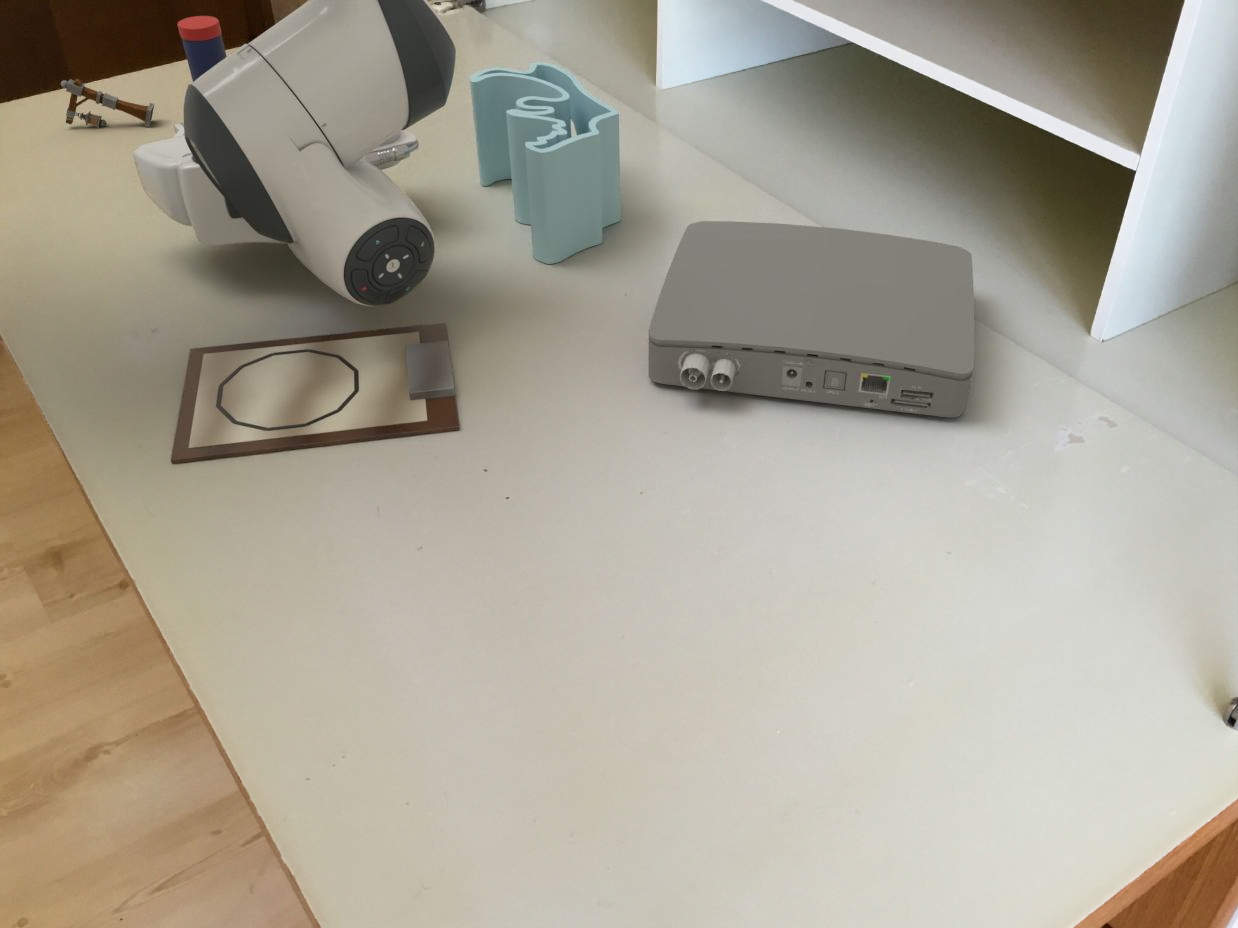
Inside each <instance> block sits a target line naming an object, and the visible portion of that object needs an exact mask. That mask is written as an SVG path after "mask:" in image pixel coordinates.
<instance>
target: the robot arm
mask: <svg viewBox="0 0 1238 928" xmlns="http://www.w3.org/2000/svg"><path fill="white" fill-rule="evenodd" d="M456 53H457V49H456V46H455V44H454V41H453V39H452V38H451V36H450V34H449V31H448V29H447V27H446V24H445V23H444V21H443V20H442V17H440V15H439V14H438V12H437V11H436V10H435V8H434V7H433V6H432V5H431V3H430V2H429V1H428V0H307V1H305V2H304V3H303V4H302V5H300V6H299V7H297V8H296V9H295V10H294V11H292V12H291V13H289V14H288V15H286V16H285V17H283V18H282V19H281V20H279V21H278V22H277V23H275V24H274V25H272V26H271V27H269V28H268V29H267V30H265V31H264V32H263V33H261V34H260V35H258V36H257V37H255V38H254V39H252V40H251V41H250V42H248V43H244V44H243V45H242V46H240V47H238V48H237V49H235V50H234V51H233V52H232V53H230V54H229V55H226V56H227V57H226V58H224V59H223V60H222V61H220V62H219V63H218V64H216V65H215V66H214V67H212V68H211V69H209V70H208V71H207V72H205V73H204V74H203V75H201V76H200V77H199V78H198V79H196V80H195V81H194V82H193V81H192V83H191V84H187V88H186V91H185V96H184V102H183V122H180V123H176V124H175V123H174V124H173V129H174V132H175V133H174V135H173V137H169V138H165V139H160V140H156V141H151V142H145V143H142V144H140V145H139V146H137V148H136V149H134V151H133V153H132V156H133V161H134V165H135V169H136V172H137V176H138V178H139V181H140V184H141V187H142V189H143V191H144V193H145V195H146V196H147V197H148V199H149V200H150V201H151V202H152V203H153V204H154V205H155V206H156V207H157V209H159V210H160V211H161V212H162V213H164V215H166V216H167V217H168V218H169V219H171V220H172V221H174V222H176V223H178V224H181V225H184V226H187V227H191V228H192V230H193V232H194V234H195V236H196V239H197V241H199V243H200V244H201V245H204V246H209V247H213V246H214V247H215V246H227V245H234V244H235V245H236V244H246V243H247V244H249V243H268V244H280V245H281V244H282V245H283V244H286V245H288V247H289V249H290V250H291V251H292V253H293V255H294V256H295V257H296V258H297V259H298V260H299V261H300V262H301V264H303V266H304V267H305V268H307V269H308V270H309V272H311V273H312V274H313V275H314V276H315V277H316V278H317V279H318V280H319V281H320V282H322V283H323V284H324V285H326V287H328V288H330V289H331V290H332V291H335V293H337V294H338V295H339V296H342V297H343V298H345V299H346V300H348V301H350V302H352V303H354V304H356V305H359V306H364V307H383V306H388V305H391V304H394V303H396V302H398V301H399V300H400V299H402V298H404V297H405V296H407V295H408V294H410V293H411V292H412V291H413V290H415V288H416V287H418V286H419V285H420V284H421V283H422V281H423V280H424V279H425V278H426V276H428V273H429V271H430V269H431V267H432V265H433V262H434V258H435V253H436V239H435V234H434V233H433V230H432V228H431V226H430V224H429V222H428V221H427V219H426V217H425V216H424V215H423V213H422V212H421V211H420V210H419V208H418V207H417V205H416V204H415V203H414V201H413V200H412V199H411V198H410V197H409V196H408V194H407V193H406V192H405V191H404V190H403V189H402V188H401V187H400V186H399V185H398V184H397V183H396V182H395V181H394V179H392V178H391V177H390V176H389V175H388V174H386V172H384V171H383V170H387V169H390V168H392V167H395V166H397V165H398V164H400V163H401V161H404V160H405V159H407V158H410V156H411V153H412V152H415V151H417V150H418V149H419V146H420V142H419V140H418V137H417V136H416V135H415V134H414V133H412V132H410V131H409V130H407V129H409V128H410V127H411V126H413V125H415V124H417V123H418V122H420V121H422V120H423V119H425V118H427V117H428V116H430V115H432V114H433V113H435V112H436V111H438V110H440V109H441V108H443V107H445V106H446V104H447V100H448V98H449V95H450V91H451V87H452V84H453V79H454V74H455V68H456V67H455V65H456V58H457V57H456V56H457V55H456Z"/></svg>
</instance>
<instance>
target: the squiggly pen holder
mask: <svg viewBox="0 0 1238 928" xmlns="http://www.w3.org/2000/svg"><path fill="white" fill-rule="evenodd" d="M469 87H470V97H471V106H472V116H473V122H474V123H473V125H474V135H475V145H476V153H477V155H476V156H477V164H478V174H479V183H480V186H481V187H488V186H491V185H492V184H494V183H495V182H500V181H503V180H511V187H512V199H513V211H514V220H515V221H516V222H518V223H520V224H523V225H529V226H530V227H531V228H530V232H531V244H532V255H533V258H534V259H535V260H537V261H539V262H540V263H543V264H547V265H553V264H556V263H557V264H558V263H560V262H562V261H563V260H566V259H568V258H569V257H571V256H573V255H575V254H577V253H578V252H581V251H584V250H586V249H589V248H591V247H594V246H598V245H601V244H603V228H606V227H608V226H611V225H614V224H617V223H619V222H621V220H622V216H621V215H622V213H621V211H622V209H621V163H620V162H621V161H620V159H621V157H620V156H621V155H620V154H621V152H620V112H619V110H617V109H616V108H614V107H612V106H611V105H609V104H607V103H606V102H603V101H602V100H600V99H599V98H598V97H595V96H594V95H593V94H592V93H590V92H589V91H587V89H586V88H585V87H584V86H583V85H582V84H581V82H580V81H579V79H578V77H576V76H575V75H574V74H573V73H571V72H570V71H568V70H566V69H564V68H563V67H560V66H558V65H555V64H552V63H549V62H543V61H542V62H541V61H536V62H531V63H530V65H529V67H528V69H527V70H519V69H518V70H517V69H513V68H507V67H502V66H501V67H499V66H496V67H495V66H494V67H488V68H483V69H480V70H478V71H476V72H475V73H473V74H471V76H469ZM571 122H572V123H573V127H574V130H575V133H576V135H574V136H572V123H571Z"/></svg>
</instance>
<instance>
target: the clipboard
mask: <svg viewBox="0 0 1238 928" xmlns="http://www.w3.org/2000/svg"><path fill="white" fill-rule="evenodd" d="M451 360H452V359H451V352H450V345H449V337H448V329H447V323H446V322H440V323H439V322H438V323H429V324H428V323H427V324H419V325H410V326H400V327H390V328H388V327H387V328H382V329H381V328H379V329H370V330H369V329H368V330H361V331H360V330H359V331H350V332H341V333H331V334H321V335H311V336H300V337H291V338H290V337H289V338H282V339H281V338H280V339H271V340H263V341H261V340H260V341H253V342H252V341H251V342H242V343H231V344H223V345H213V346H212V345H211V346H204V347H203V346H202V347H193V348H190V349H189V355H188V359H187V365H186V372H185V378H184V382H183V389H182V394H181V399H180V405H179V411H178V417H177V421H176V428H175V432H174V433H175V434H174V439H173V445H172V449H171V457H170V463H171V464H180V463H188V462H197V461H205V460H207V461H208V460H213V459H223V458H231V457H239V456H248V455H257V454H264V453H265V454H266V453H274V452H282V451H283V452H284V451H290V450H291V451H292V450H298V449H299V450H301V449H307V448H316V447H326V446H332V445H333V446H334V445H340V444H341V445H342V444H349V443H359V442H367V441H373V440H374V441H375V440H384V439H393V438H401V437H409V436H416V435H417V436H418V435H427V434H434V433H435V434H436V433H442V432H443V433H444V432H450V431H451V432H452V431H459V430H460V428H461V427H460V422H459V421H460V420H459V413H458V406H457V398H456V391H455V383H454V376H453V368H452V361H451Z"/></svg>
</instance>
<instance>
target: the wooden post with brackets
mask: <svg viewBox="0 0 1238 928" xmlns="http://www.w3.org/2000/svg"><path fill="white" fill-rule="evenodd" d="M60 86H61V87H62V88H63V89H65V92H66V93H70V97H69V103H68V107H67V109H66V113H65V116H66V118H65V124H68V125H72V124H73V122H74V119H75V116H76V117H77V118H79V119H80V120H81V121H82V120H84V122H85V126H88V124H89V125H91V126H94V127H96V128H97V129H99V128H100V127H105V126H107V120H105V119H102V117H103V115H97V114H93V113H91V112H92V111H91V110H89V111H88V112H87V113H84V112H81V113H80V112H77V107H80V105H82V104H83V103H86V102H87V101H88V100H90V101H94V102H95V104H97V105H98V106H99V105H100V104H101V106H102V107H106V108H109V109H111V110H113V111H115V110H118V111H119V112H123V113H125V114H128V115H130V116H132V117H134V118H137V119H139V120H140V121H142V122H144V126H145V127H147V128H149V126H150V125H151V123H152V120H153V115H154V108H155V103H151V102H150V103H149V105H145V104H143V105H142V104H138V103H133V102H129V101H125V100H122V99H119V97H118V96H114V95H111V94H109V93H107V92H105V93H103V91H102V90H98V91H97V90H95V89H92V88H90V87H88V86H87V87H86V84H84V83H82V80H80V79H79V78H75V80H73V79H72V78H70V79H69V80H68V81H67V80H65V79H64V80H61V82H60ZM78 97H79V98H81V97H84V98H83V99H81V100H80V101H78ZM77 101H78V102H77Z"/></svg>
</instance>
